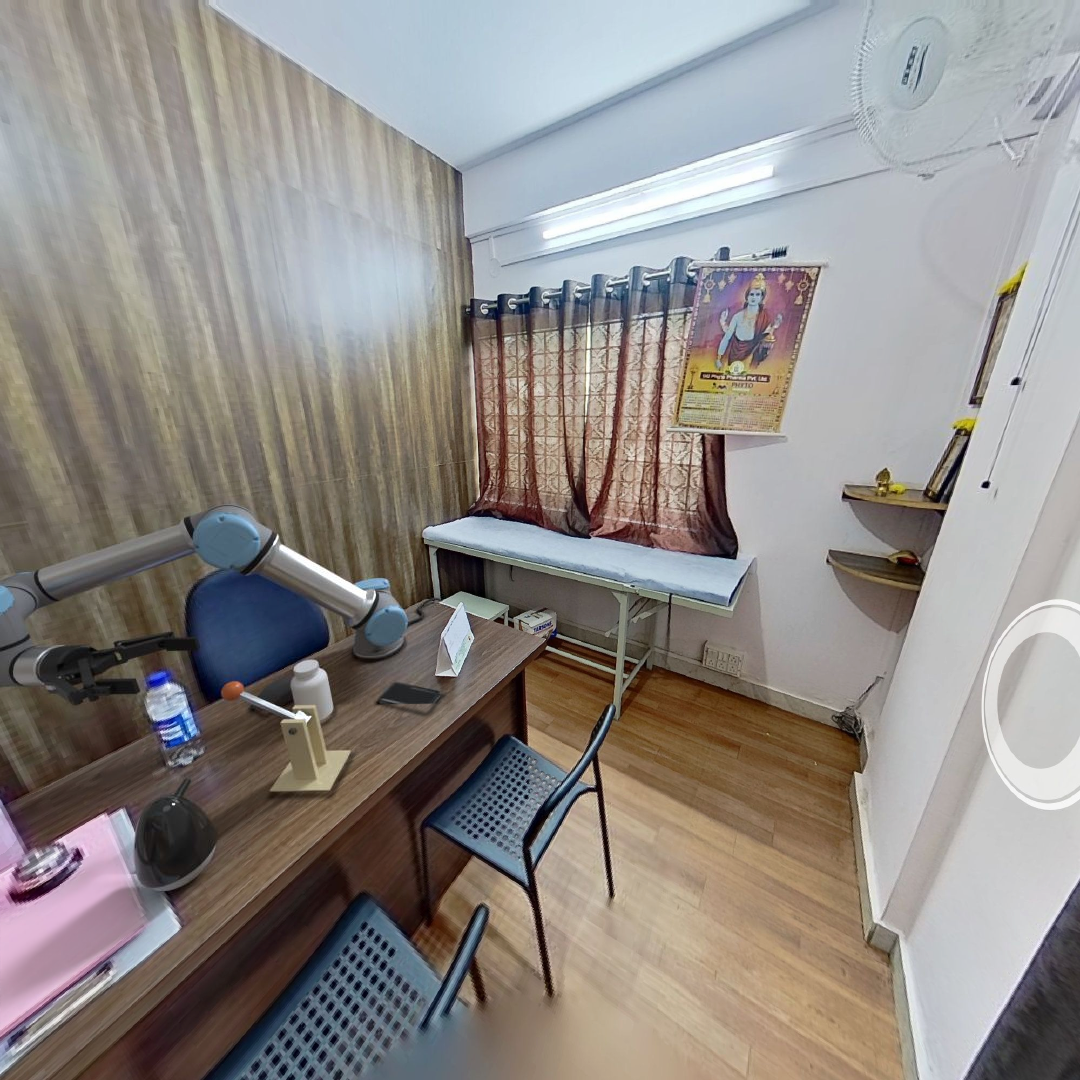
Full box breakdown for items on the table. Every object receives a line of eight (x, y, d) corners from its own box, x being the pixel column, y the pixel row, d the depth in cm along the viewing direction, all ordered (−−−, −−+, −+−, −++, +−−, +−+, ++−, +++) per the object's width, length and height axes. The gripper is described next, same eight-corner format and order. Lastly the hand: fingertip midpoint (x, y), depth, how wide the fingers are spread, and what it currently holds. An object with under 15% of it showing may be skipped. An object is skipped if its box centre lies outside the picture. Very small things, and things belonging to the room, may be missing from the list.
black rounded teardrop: (238, 838, 75) (215, 773, 70) (189, 904, 65) (160, 834, 60) (184, 837, 75) (158, 772, 71) (127, 903, 65) (93, 832, 61)
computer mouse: (316, 687, 115) (313, 675, 114) (265, 718, 104) (262, 705, 103) (299, 678, 119) (296, 666, 118) (248, 707, 108) (244, 694, 107)
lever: (214, 699, 80) (219, 686, 79) (227, 687, 83) (233, 674, 82) (298, 736, 82) (305, 724, 81) (308, 723, 86) (314, 711, 85)
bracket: (270, 796, 83) (252, 732, 78) (298, 756, 92) (283, 697, 88) (330, 795, 83) (315, 731, 78) (352, 755, 92) (339, 696, 87)
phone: (425, 711, 103) (376, 699, 108) (426, 714, 104) (377, 702, 108) (442, 691, 111) (395, 680, 115) (443, 694, 111) (396, 684, 116)
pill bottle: (320, 730, 100) (308, 677, 95) (291, 725, 101) (278, 673, 97) (341, 707, 107) (331, 657, 103) (314, 703, 109) (303, 654, 104)
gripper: (128, 646, 92) (222, 644, 92) (-15, 729, 69) (111, 727, 69) (116, 616, 90) (213, 614, 90) (-35, 691, 66) (95, 689, 66)
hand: (169, 663), depth 79 cm, fingers open, 13 cm apart
